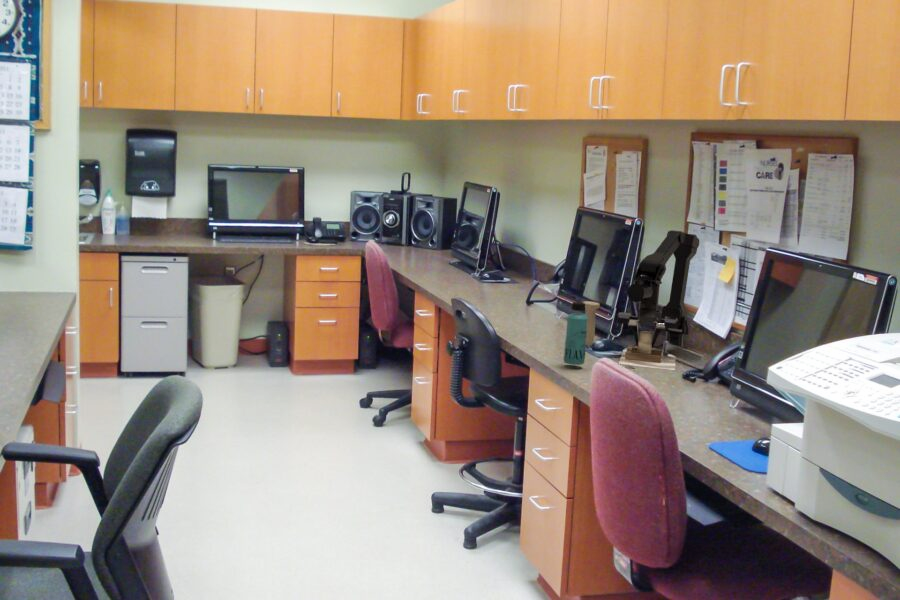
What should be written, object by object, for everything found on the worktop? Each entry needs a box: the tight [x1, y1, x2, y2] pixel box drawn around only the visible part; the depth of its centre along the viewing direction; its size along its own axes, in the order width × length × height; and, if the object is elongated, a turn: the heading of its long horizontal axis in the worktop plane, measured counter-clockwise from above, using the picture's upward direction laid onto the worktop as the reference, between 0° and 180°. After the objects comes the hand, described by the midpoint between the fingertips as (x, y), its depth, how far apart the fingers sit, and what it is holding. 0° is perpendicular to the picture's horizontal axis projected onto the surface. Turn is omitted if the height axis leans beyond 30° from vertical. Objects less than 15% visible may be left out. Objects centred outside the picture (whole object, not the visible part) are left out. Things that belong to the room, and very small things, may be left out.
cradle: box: [618, 345, 677, 371], centre depth 309 cm, size 22×17×3 cm
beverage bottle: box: [563, 301, 588, 366], centre depth 296 cm, size 6×7×20 cm
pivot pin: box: [637, 330, 654, 354], centre depth 312 cm, size 4×4×6 cm
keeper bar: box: [662, 340, 705, 367], centre depth 307 cm, size 21×2×4 cm, turn 21°
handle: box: [582, 300, 601, 349], centre depth 326 cm, size 5×6×15 cm
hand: (644, 346), depth 312 cm, fingers closed on pivot pin, 4 cm apart
